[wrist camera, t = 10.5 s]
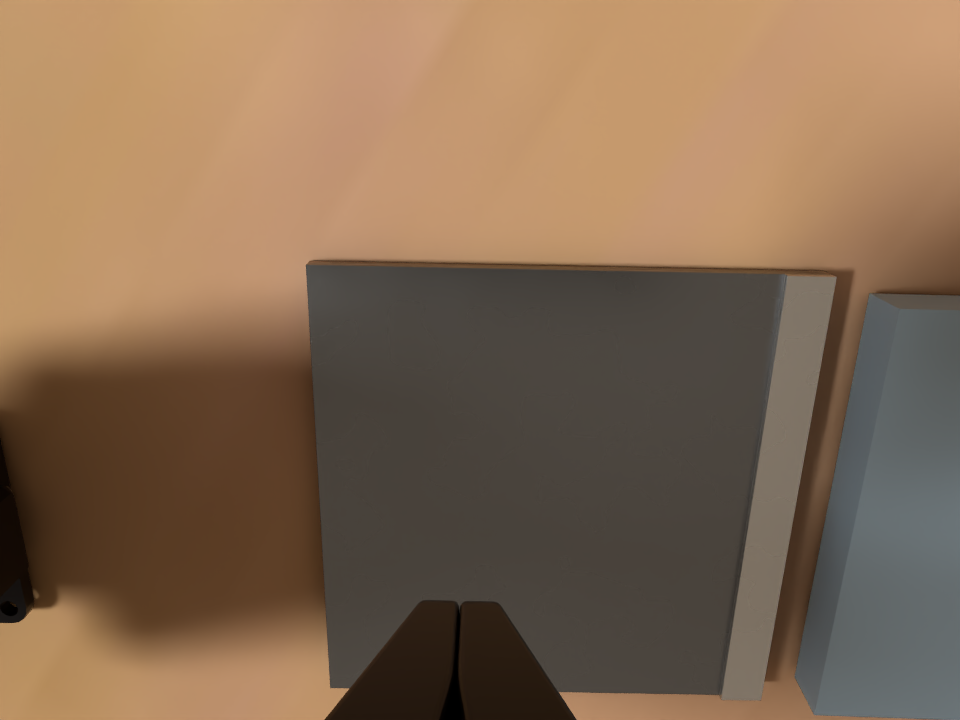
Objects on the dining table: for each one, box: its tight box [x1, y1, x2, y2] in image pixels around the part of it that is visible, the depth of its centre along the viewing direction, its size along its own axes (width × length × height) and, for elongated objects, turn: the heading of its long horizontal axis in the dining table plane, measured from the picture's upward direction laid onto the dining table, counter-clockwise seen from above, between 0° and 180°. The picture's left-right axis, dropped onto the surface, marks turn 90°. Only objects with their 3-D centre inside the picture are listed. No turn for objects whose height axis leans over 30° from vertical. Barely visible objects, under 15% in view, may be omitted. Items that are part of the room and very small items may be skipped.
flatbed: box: [306, 261, 837, 700], centre depth 21 cm, size 13×13×1 cm
